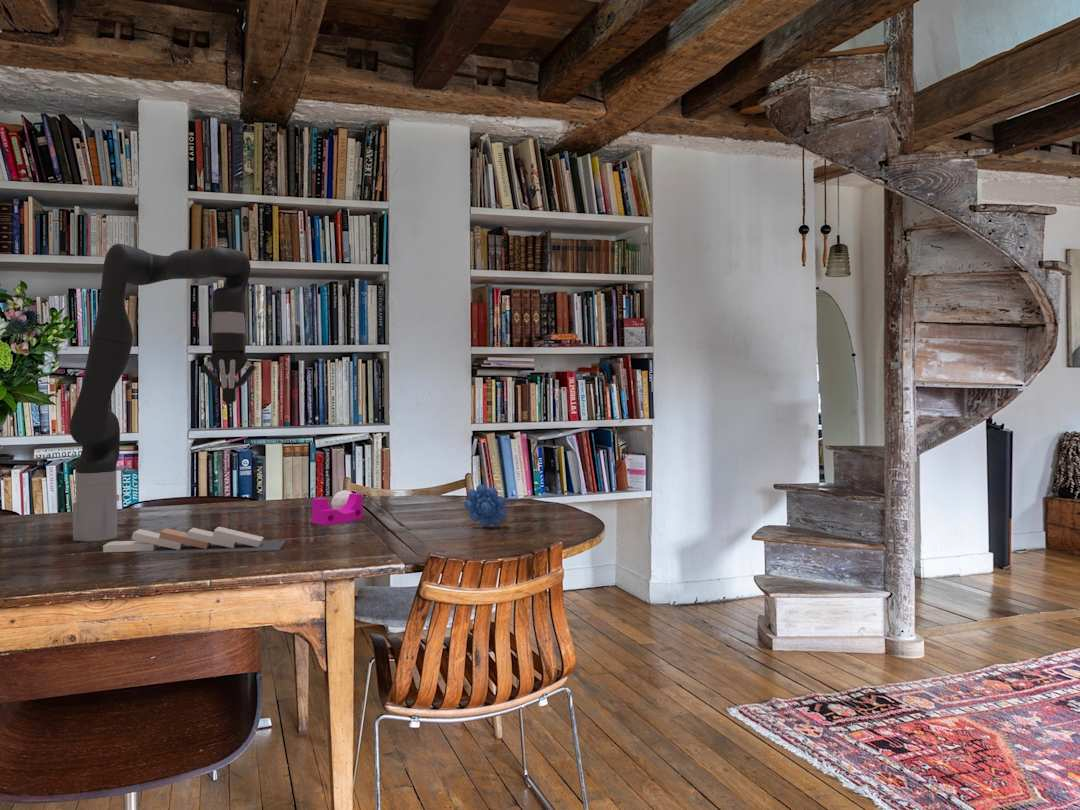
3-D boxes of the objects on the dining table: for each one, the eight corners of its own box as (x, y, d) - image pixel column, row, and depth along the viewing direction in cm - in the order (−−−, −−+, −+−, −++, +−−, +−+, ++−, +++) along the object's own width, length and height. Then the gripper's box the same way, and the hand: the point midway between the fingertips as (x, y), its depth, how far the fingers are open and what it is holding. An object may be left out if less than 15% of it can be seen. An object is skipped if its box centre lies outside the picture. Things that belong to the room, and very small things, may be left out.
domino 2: (179, 549, 195) (131, 539, 193) (184, 545, 200) (137, 535, 198) (181, 543, 195) (133, 532, 193) (186, 539, 200) (139, 528, 198)
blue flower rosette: (465, 530, 224) (465, 486, 223) (464, 526, 230) (464, 483, 230) (507, 529, 225) (507, 485, 225) (505, 525, 232) (505, 483, 231)
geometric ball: (345, 519, 242) (345, 492, 242) (325, 517, 246) (325, 490, 246) (363, 515, 249) (363, 489, 249) (343, 513, 253) (343, 487, 253)
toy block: (324, 527, 230) (324, 500, 230) (311, 524, 234) (311, 498, 234) (368, 520, 242) (367, 495, 241) (355, 518, 246) (354, 493, 245)
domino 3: (206, 549, 196) (158, 538, 194) (210, 545, 201) (164, 534, 199) (208, 542, 196) (160, 531, 194) (212, 538, 201) (166, 528, 199)
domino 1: (153, 550, 194) (103, 552, 192) (159, 546, 199) (110, 548, 197) (153, 544, 194) (103, 545, 192) (159, 540, 199) (110, 541, 197)
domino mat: (135, 555, 190) (135, 554, 190) (150, 545, 202) (150, 544, 202) (279, 551, 195) (279, 549, 195) (285, 541, 207) (285, 540, 207)
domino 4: (233, 548, 197) (186, 537, 195) (237, 544, 202) (191, 533, 200) (234, 541, 197) (188, 531, 195) (238, 538, 202) (193, 527, 200)
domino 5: (258, 547, 198) (212, 536, 196) (262, 543, 203) (216, 532, 201) (260, 541, 198) (214, 529, 196) (263, 537, 203) (218, 526, 201)
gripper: (259, 333, 202) (260, 403, 202) (203, 332, 199) (203, 403, 200) (254, 331, 194) (255, 404, 195) (195, 330, 192) (196, 404, 193)
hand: (229, 404), depth 197 cm, fingers closed
